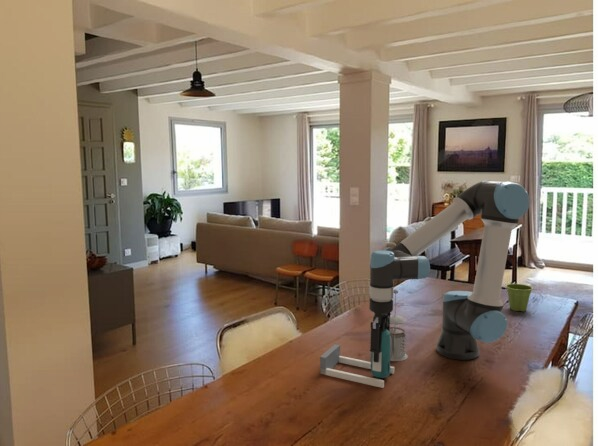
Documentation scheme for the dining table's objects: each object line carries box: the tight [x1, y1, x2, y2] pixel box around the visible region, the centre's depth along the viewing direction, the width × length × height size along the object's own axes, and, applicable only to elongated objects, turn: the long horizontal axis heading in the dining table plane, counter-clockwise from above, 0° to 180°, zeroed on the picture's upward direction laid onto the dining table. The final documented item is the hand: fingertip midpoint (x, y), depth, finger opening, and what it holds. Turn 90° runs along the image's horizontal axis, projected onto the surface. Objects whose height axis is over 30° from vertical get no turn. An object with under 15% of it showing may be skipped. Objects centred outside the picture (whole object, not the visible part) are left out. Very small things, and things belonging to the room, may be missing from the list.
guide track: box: [319, 343, 395, 389], centre depth 158 cm, size 22×12×6 cm, turn 62°
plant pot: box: [505, 283, 534, 312], centre depth 225 cm, size 12×12×11 cm
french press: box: [390, 289, 408, 362], centre depth 170 cm, size 10×12×25 cm
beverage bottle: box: [370, 321, 392, 379], centre depth 154 cm, size 6×7×20 cm
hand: (379, 366), depth 154 cm, fingers closed on beverage bottle, 5 cm apart
